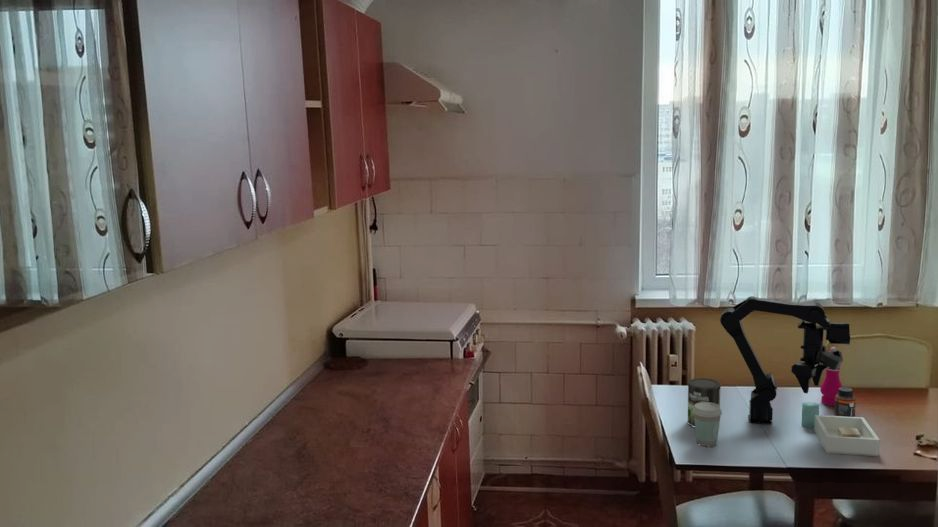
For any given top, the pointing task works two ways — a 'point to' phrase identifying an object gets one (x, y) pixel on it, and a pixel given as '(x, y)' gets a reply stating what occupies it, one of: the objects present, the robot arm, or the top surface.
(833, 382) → the pepper mill
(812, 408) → the teal cylinder
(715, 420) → the coffee cup
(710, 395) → the coffee can
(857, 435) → the beige rectangular block
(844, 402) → the supplement bottle
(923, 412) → the top surface
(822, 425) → the tote
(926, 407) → the top surface
